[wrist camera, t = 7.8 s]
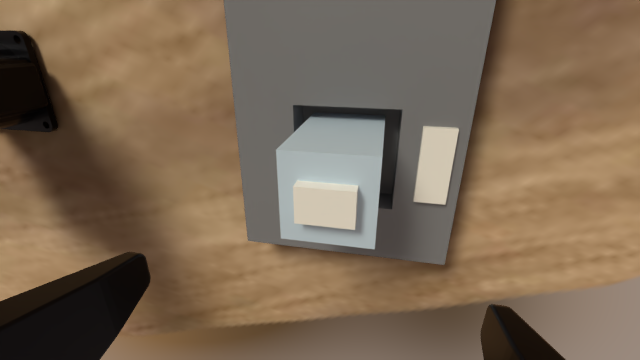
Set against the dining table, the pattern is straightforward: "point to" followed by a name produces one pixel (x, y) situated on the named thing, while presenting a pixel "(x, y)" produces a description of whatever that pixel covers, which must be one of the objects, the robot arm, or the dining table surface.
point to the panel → (362, 103)
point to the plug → (331, 179)
